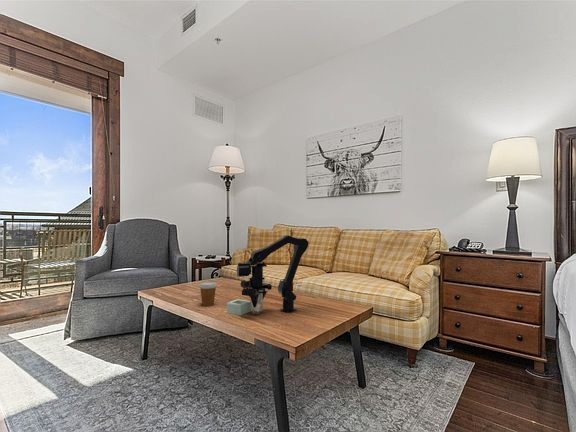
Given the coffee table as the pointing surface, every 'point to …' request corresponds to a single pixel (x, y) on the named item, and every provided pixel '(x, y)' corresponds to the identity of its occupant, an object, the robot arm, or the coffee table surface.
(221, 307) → the coffee table surface
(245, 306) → the green square frame
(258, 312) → the beige rectangular block
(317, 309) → the coffee table surface
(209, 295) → the disposable coffee cup
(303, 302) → the coffee table surface
